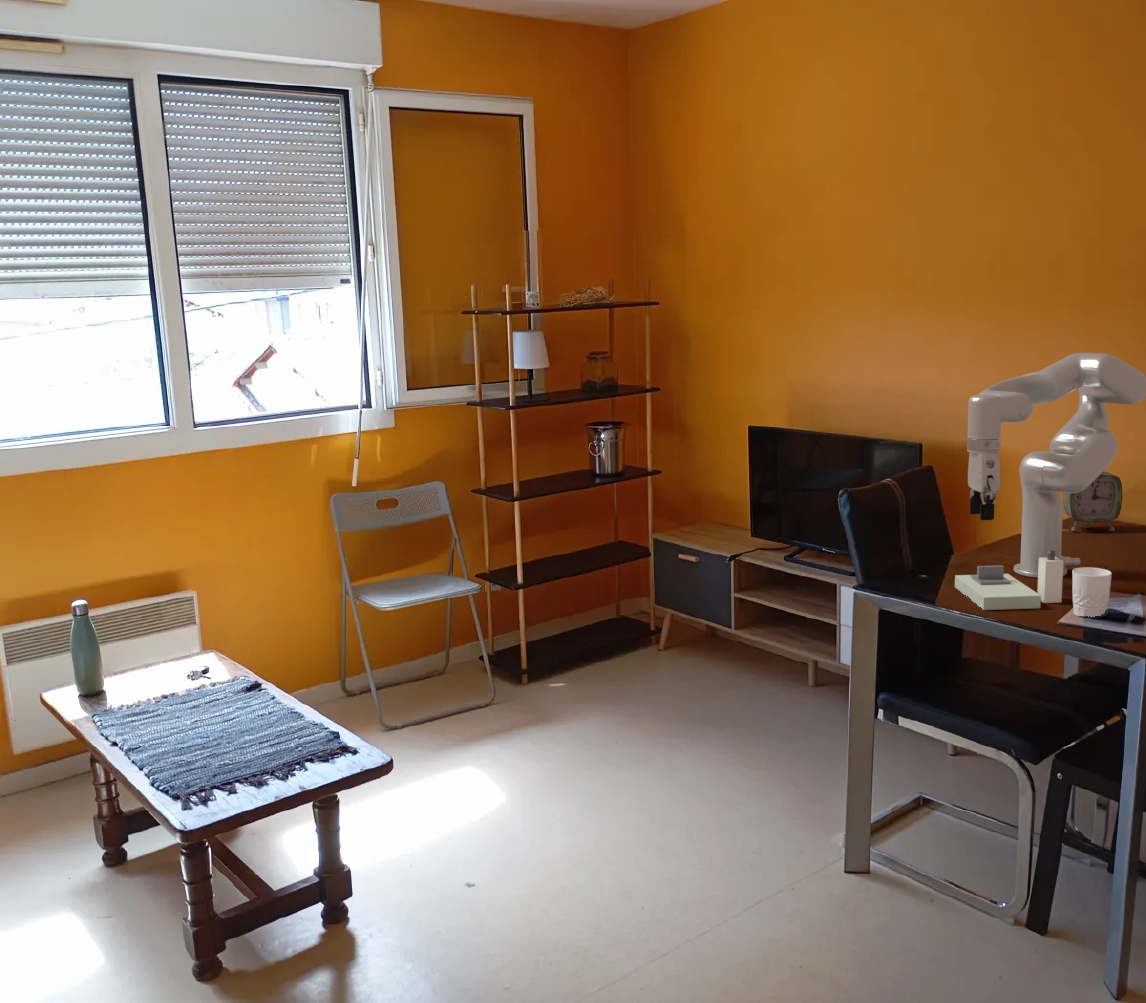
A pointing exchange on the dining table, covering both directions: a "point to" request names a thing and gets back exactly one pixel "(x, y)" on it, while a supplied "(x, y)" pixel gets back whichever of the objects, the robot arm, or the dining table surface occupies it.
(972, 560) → the dining table surface
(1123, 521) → the dining table surface
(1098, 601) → the white cup
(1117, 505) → the tabletop clock
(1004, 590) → the socket board
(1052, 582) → the plug
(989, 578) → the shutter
